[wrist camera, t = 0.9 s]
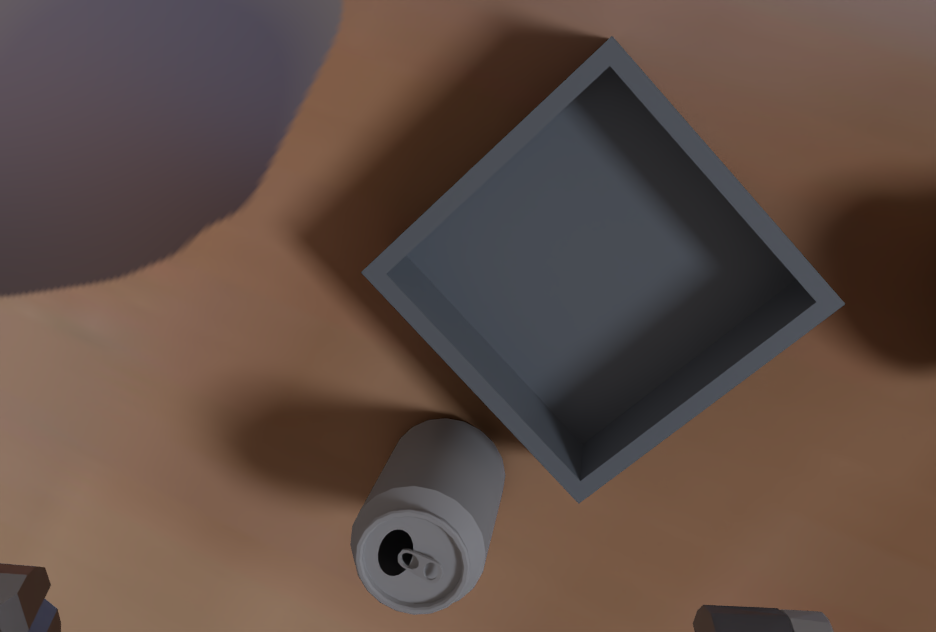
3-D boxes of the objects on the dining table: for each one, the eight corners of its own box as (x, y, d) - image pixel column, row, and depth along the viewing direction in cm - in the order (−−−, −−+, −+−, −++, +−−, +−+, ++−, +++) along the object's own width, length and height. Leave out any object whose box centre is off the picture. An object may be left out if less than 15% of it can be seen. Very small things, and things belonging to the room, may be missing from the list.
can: (410, 397, 57) (361, 481, 45) (521, 435, 56) (499, 530, 45) (381, 495, 59) (326, 599, 48) (487, 533, 59) (458, 646, 47)
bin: (818, 276, 51) (845, 304, 45) (581, 458, 56) (578, 503, 50) (611, 39, 49) (611, 35, 43) (387, 250, 54) (360, 272, 49)
